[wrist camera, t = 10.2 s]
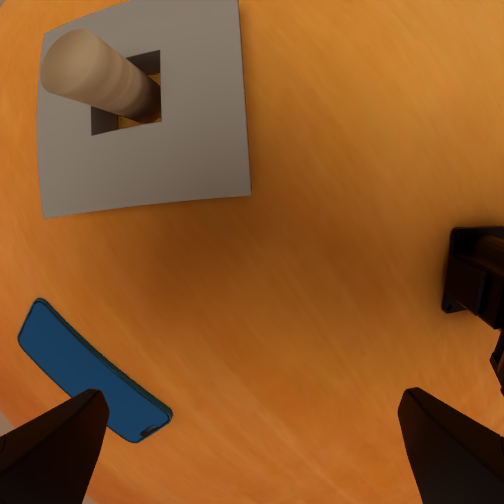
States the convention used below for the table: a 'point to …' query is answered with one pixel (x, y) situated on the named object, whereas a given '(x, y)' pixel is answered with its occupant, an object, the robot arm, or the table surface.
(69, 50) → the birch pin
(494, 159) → the table surface
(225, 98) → the socket block
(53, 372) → the smartphone
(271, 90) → the table surface
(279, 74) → the table surface
